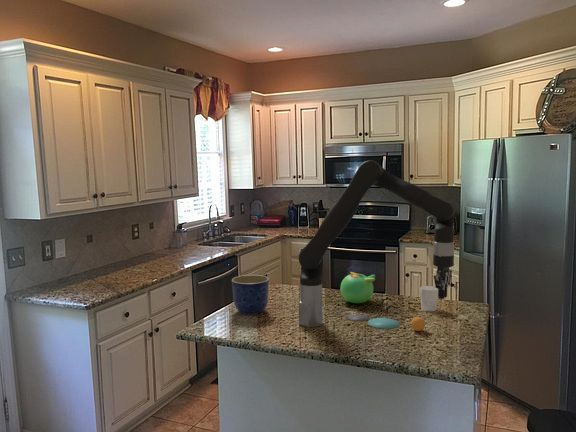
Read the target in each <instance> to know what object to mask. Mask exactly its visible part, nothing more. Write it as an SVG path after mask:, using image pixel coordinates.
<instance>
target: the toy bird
mask: <svg viewBox="0 0 576 432" xmlns="http://www.w3.org/2000/svg"><path fill="white" fill-rule="evenodd" d="M349 272H350V274H348V275H346V276H345V277H344V278H343V279H342V281H341V283H340V293H341V294H340V295H341V296H342V297H343V298H344V300H345V301H347V302H349V303H352V304H363V303H366V302H367V301H369V300H370V299H371V297H372V296H373V293H374V284H373V282H374V281H376V275H375V274H371V275H368V276H367V275H364V274H362V273H356V272H353V271H349Z"/></svg>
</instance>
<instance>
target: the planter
mask: <svg viewBox="0 0 576 432" xmlns="http://www.w3.org/2000/svg"><path fill="white" fill-rule="evenodd" d="M269 285H270V278H269V277H268V276H266V275H261V274H245V275H239V276H234V277H233V278H232V279H231V287H232V298H233V305H234V306H235V308H236V310H237V311H238V312H239V313H241V314H243V315H244V314H245V315H257V314H259V313H262V312H263V311H265V309H266V307H267V306H268V302H269V288H270V286H269Z"/></svg>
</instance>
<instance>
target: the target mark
mask: <svg viewBox="0 0 576 432" xmlns="http://www.w3.org/2000/svg"><path fill="white" fill-rule="evenodd" d="M367 324H368V325H369V326H370V327H372V328H376V329H381V330H390V329H391V330H392V329H395V328H398V327H399V326H400V323H399V321H397V320H395V319H391V318H388V317H386V318H385V317H376V318H371V319H368V320H367Z"/></svg>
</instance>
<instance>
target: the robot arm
mask: <svg viewBox="0 0 576 432" xmlns="http://www.w3.org/2000/svg"><path fill="white" fill-rule="evenodd" d="M372 186H376V187H378V188H382V189H384V190H386V191H389V192H390V193H392V194H394V195H396V196H397V197H399V198H401V199H402V200H404V201H405V202H407V203H409V204H411V205H413V206H415V207H417V208H419V209H421V210H423V211H424V212H426V213H427V214H429V215H431V216H432V217H434V218H435V228H434V232H433V233H434V234H433V235H434V237H433V240H434V241H433V247H432V248H433V250H432V251H433V253H432V266H434V267H437V268H436V274H435V275H433V281H434V287H436V288H437V289H438V300H444V299H446V298H447V297H448V288H449V286H450V285H451V279H452V274H453V270H452V269H450V268H452V267H454V265H455V264H454V263H455V245H454V244H455V243H454V241H455V240H454V239H455V238H454V237H455V236H454V235H455V233H454V227H455V225H454V224H455V217H456V216H455V215H456V209H455V205H454V204H453V203H452V202H451V201H450V200H443V199H441V198H440V197H437V196H435V195H433V193H431V191H430V192H429V191H428V190H426V189H424V188H422V187H420V186H418V185H415V184H414V183H412V182H408V181H406V180H404V179H401V178H399V177H397V176H396V175H394V174H393V173H392V172H389V171H388V170H386V169H385V168H384V167H383V166H382V165H381V164H379V163H378V162H377V161H375V160H371V159H369V160H365V161H363V162H362V163H361V164H360V165H359V166H358V168H357V170H355V173H354V175H353V176H352V178H351V180H350V182H349V184H348V185H347V187H346V188H345V189H344V191H343V192H342V193H341V194H340V196H339V197H338V198H337V200H336V201H335V202H334V204H333V205H332V206H331V208H330V209H329V210H328V212H327V213H326V215H325V217H324V218H323V219H322V221H321V224H320V225H319V227H318V229H317V231H316V233H315V234H314V236H313V237H312V238H311V239H310V241H309V242H308V243H307V244H306V245H305V246H304V247H303V248H302V249H301V250H300V252H299V254H298V262H299V263H298V264H299V265H300V267H301V269H300V275H299V276H300V277H299V280H300V281H299V287H300V288H299V295H300V296H299V300H300V301H299V302H298V325H301V326H304V327H307V328H312V327H313V328H315V327H319V326H322V324H323V277H324V275H323V274H324V255H325V253H326V252H327V250H328V248H329V247H330V246H331V244H332V243H333V242H334V241H335V240H336V239H337V238H338V236H340V235H341V234H342V232H343V231H344V229H346V227H347V226H348V225H349V223H350V222H351V221H352V219H353V217H354V216H355V214H356V212H357V210H358V208H359V205H360V203H361V200H362V199H363V197H364V196H365V195H366V193H367V192H368V190H369V189H370V188H371V187H372Z"/></svg>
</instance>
